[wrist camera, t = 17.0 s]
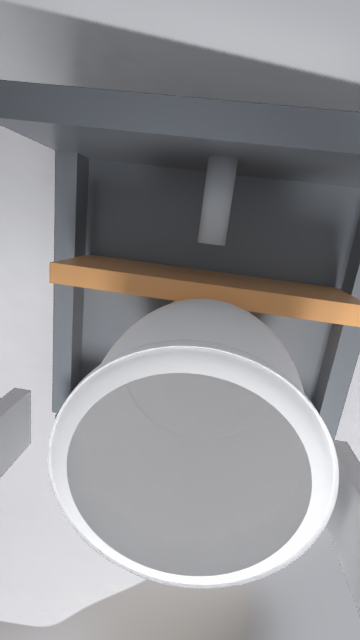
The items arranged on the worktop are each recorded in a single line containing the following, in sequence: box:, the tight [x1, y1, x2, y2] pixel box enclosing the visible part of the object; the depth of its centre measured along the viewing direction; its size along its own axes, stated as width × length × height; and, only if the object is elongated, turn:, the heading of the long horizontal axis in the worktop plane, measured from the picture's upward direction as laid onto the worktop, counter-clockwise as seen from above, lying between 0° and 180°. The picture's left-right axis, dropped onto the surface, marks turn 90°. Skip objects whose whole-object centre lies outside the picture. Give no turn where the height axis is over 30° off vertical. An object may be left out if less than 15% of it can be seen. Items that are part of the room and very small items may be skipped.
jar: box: [48, 299, 339, 589], centre depth 19 cm, size 11×10×15 cm
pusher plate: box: [50, 255, 360, 327], centre depth 22 cm, size 1×18×6 cm, turn 83°
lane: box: [0, 80, 360, 440], centre depth 22 cm, size 21×22×10 cm
